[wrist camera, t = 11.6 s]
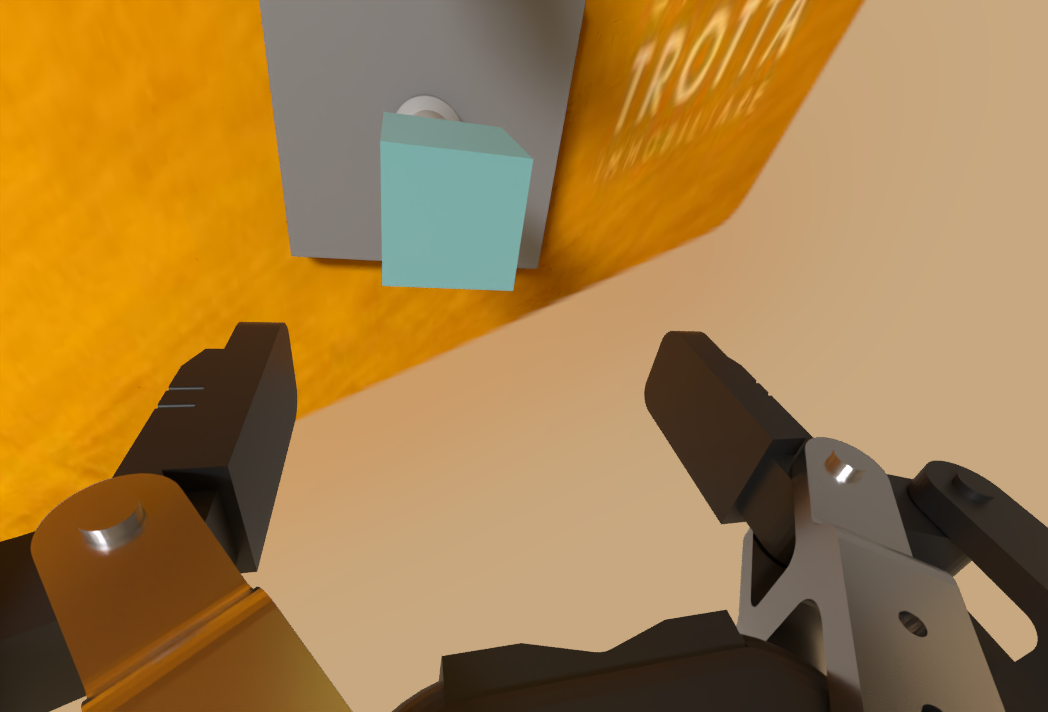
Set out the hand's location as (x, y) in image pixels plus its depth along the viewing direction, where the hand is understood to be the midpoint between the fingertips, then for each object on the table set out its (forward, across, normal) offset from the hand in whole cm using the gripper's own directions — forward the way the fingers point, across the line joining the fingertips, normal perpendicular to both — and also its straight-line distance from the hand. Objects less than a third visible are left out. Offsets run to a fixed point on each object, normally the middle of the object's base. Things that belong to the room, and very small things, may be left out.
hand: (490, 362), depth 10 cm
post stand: (+28, 0, 0) cm, 28 cm away
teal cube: (+14, 0, 0) cm, 14 cm away
